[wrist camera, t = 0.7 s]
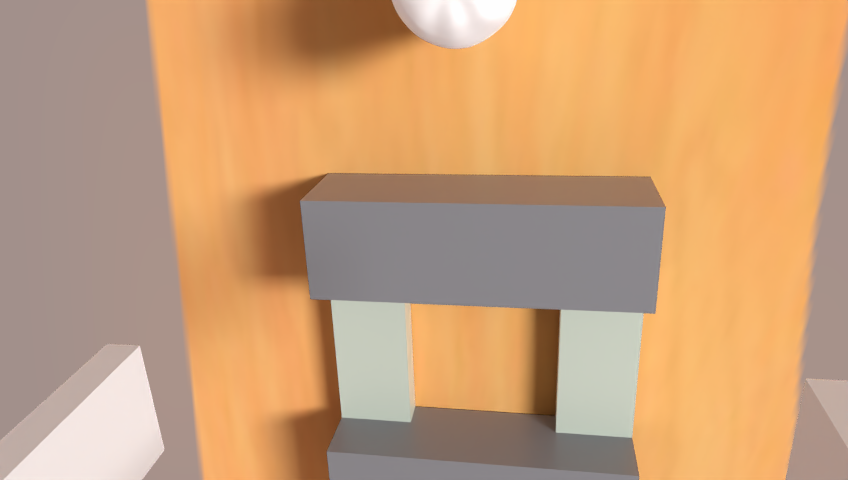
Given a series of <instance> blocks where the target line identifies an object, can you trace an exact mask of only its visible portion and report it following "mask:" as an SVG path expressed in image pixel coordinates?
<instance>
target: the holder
mask: <svg viewBox="0 0 848 480" xmlns="http://www.w3.org/2000/svg"><path fill="white" fill-rule="evenodd" d="M300 207H301V216H302V225H303V235H304V244H305V254H306V263H307V272H308V282H309V291H310V299H318V300H331V308H332V319H333V329H334V340H335V350H336V361H337V371H338V382H339V393H340V403H341V414H342V418H341V420H340V423H339V425H338V427H337V429H336V432H335V434H334V436H333V438H332V441H331V443H330V445H329V447H328V450H327V460H328V469H329V479H330V480H639V472H638V467H637V462H636V456H635V451H634V445H633V440H632V433H633V422H634V411H635V400H636V389H637V379H638V368H639V357H640V346H641V335H642V324H643V313H653V314H655V311H656V301H657V291H658V281H659V270H660V260H661V250H662V240H663V230H664V220H665V209H666V207H665V205H664V203H663V201H662V199H661V197H660V195H659V193H658V191H657V189H656V187H655V185H654V183H653V181H652V179H651V177H619V176H527V175H435V174H343V173H328V174H327V175H326V176H325V177H324V178H323V179H322V180H321V181H320V182H319V183H318V184H317V185H316V186H315V187H314V188H313V189H312V190H310V191H309V192H308V193H307V194H306V195H305V196H304V197H303V198H302V199H301V200H300ZM410 303H414V304H438V305H462V306H486V307H510V308H533V309H557V310H560V315H559V339H558V363H557V387H556V412H555V416H550V415H535V414H520V413H505V412H490V411H475V410H460V409H445V408H430V407H415V389H414V368H413V347H412V326H411V305H410Z"/></svg>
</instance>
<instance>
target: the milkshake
mask: <svg viewBox="0 0 848 480" xmlns="http://www.w3.org/2000/svg"><path fill="white" fill-rule="evenodd" d="M516 1H517V0H392V3H393V5H394V8H395V10H396V12H397V13H398V15H399V17H400V18H401V20H402V21H403V22H404V23H405V25H406V26H407V27H408V28H409V29H410V30H411V31H412V32H413V33H414V34H416V35H417V36H418V37H420V38H421V39H423V40H425V41H426V42H429V43H431V44H434V45H437V46H440V47H444V48H450V49H461V48H467V47H471V46H474V45H476V44H479V43H481V42H482V41H484V40H486V39H487V38H489V37H490V36H492V35H493V34H494V33H495V32H497V31H498V30H499V29H500V28H501V27H502V26H503V25H504V24H505V23H506V22H507V20H508V19H509V17H510V16H511V14H512V12H513V10H514V7H515V4H516Z"/></svg>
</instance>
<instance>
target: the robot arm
mask: <svg viewBox="0 0 848 480" xmlns="http://www.w3.org/2000/svg"><path fill="white" fill-rule="evenodd" d="M163 451H164V446H163V442H162V437H161V433H160V429H159V425H158V421H157V416H156V412H155V408H154V404H153V400H152V395H151V391H150V387H149V382H148V378H147V374H146V370H145V366H144V361H143V357H142V353H141V349H140V346H139V345H138V346H137V345H119V344H106V345H105V346H104V347H103V348H102V349H101V350H100V351H99V352H97V353H96V354H95V355H94V356H93V357H92V358H91V359H90V360H89V361H87V362H86V363H85V364H84V365H83V366H82V367H81V368H80V369H79V370H78V371H77V372H75V373H74V374H73V375H72V376H71V377H70V378H69V379H68V380H67V381H65V382H64V383H63V384H62V385H61V386H60V387H59V388H58V389H57V390H55V391H54V392H53V393H52V394H51V395H50V396H49V397H48V398H47V399H46V400H45V401H43V402H42V403H41V404H40V405H39V406H38V407H37V408H36V409H35V410H33V411H32V412H31V413H30V414H29V415H28V416H27V417H26V418H25V419H23V420H22V421H21V422H20V423H19V424H18V425H17V426H16V427H15V428H14V429H13V430H11V431H10V432H9V433H8V434H7V435H6V436H5V437H4V438H3V439H1V440H0V480H142V479H143V478H144V476H145V475H146V474H147V472H148V471H149V470H150V468H151V467H152V466H153V464H154V463H155V462H156V460H157V459H158V458H159V457H160V455H161V454H162V453H163ZM786 480H848V381H844V380H823V379H805V384H804V389H803V394H802V399H801V404H800V409H799V414H798V419H797V424H796V429H795V434H794V439H793V444H792V449H791V454H790V459H789V464H788V470H787V475H786Z"/></svg>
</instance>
